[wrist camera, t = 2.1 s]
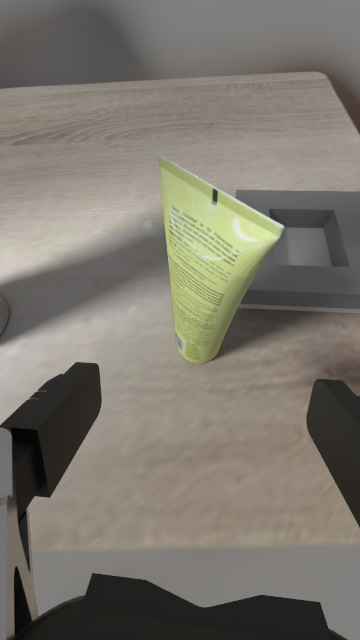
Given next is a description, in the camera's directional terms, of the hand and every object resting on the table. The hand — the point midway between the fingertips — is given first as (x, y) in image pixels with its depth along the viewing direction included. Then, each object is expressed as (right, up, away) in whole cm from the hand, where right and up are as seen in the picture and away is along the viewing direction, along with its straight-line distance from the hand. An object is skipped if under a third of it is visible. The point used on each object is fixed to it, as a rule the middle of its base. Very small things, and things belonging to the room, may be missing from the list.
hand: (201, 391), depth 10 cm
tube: (+1, 0, +20) cm, 20 cm away
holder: (+14, +11, +24) cm, 30 cm away
